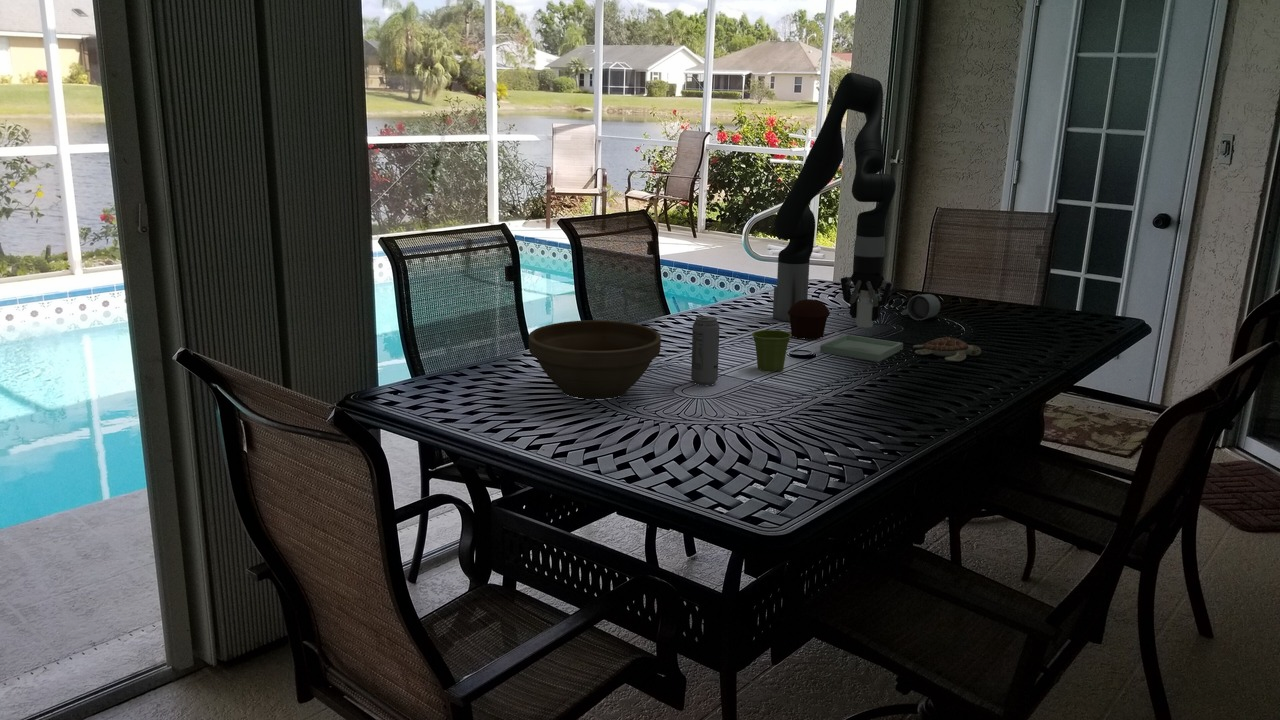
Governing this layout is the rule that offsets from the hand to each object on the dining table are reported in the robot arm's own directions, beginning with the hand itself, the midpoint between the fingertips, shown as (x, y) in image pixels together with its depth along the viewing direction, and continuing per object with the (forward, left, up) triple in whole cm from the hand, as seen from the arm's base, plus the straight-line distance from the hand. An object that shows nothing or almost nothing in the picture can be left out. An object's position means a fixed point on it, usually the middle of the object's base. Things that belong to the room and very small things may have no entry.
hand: (864, 318), depth 242 cm
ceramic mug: (-3, +50, -9) cm, 51 cm away
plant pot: (-10, -31, -9) cm, 34 cm away
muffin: (-19, +7, -9) cm, 22 cm away
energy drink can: (-16, -51, -9) cm, 54 cm away
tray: (0, 0, -8) cm, 8 cm away
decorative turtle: (+19, +10, -9) cm, 23 cm away
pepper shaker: (0, 0, -2) cm, 2 cm away
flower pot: (-31, -72, -9) cm, 79 cm away
